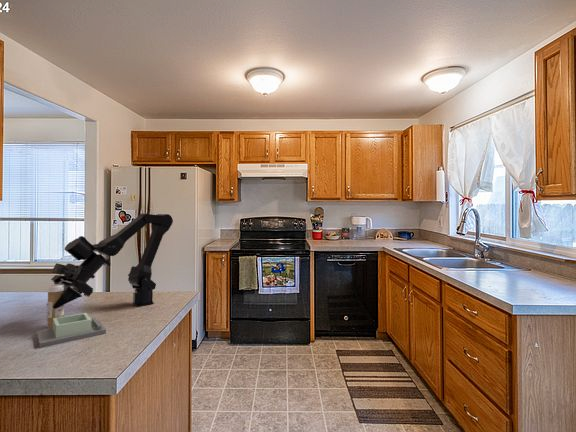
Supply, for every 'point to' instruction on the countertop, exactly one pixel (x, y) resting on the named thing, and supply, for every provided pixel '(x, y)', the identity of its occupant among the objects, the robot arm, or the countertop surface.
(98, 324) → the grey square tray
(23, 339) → the countertop surface
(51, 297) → the sprinkles bottle
